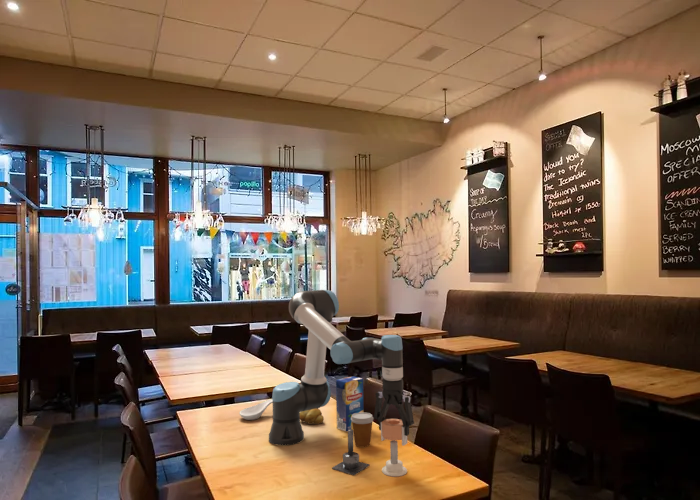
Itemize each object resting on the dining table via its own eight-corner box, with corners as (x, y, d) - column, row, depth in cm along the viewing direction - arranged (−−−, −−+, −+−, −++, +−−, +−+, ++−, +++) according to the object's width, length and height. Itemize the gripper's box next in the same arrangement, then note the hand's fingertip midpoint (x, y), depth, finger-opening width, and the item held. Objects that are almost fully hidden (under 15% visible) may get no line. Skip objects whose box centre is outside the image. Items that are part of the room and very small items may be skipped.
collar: (378, 437, 168) (378, 423, 168) (390, 431, 175) (389, 417, 175) (398, 441, 164) (397, 427, 164) (409, 435, 170) (408, 421, 170)
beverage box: (363, 426, 218) (363, 378, 219) (346, 431, 211) (345, 382, 212) (353, 422, 223) (353, 376, 224) (336, 428, 216) (335, 380, 217)
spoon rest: (245, 424, 224) (245, 409, 225) (235, 418, 233) (235, 403, 234) (288, 414, 239) (288, 400, 239) (277, 408, 248) (277, 395, 248)
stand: (332, 468, 171) (331, 431, 172) (347, 459, 180) (347, 424, 180) (354, 475, 166) (353, 436, 166) (369, 465, 174) (369, 428, 174)
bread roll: (328, 422, 224) (327, 405, 224) (313, 427, 217) (312, 410, 217) (310, 417, 233) (309, 400, 233) (295, 422, 226) (294, 405, 226)
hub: (377, 472, 168) (376, 442, 168) (390, 463, 175) (389, 435, 176) (399, 478, 163) (398, 448, 163) (411, 469, 170) (410, 440, 170)
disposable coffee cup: (372, 449, 189) (371, 419, 190) (349, 448, 191) (348, 418, 192) (375, 441, 199) (375, 412, 199) (353, 439, 201) (353, 411, 201)
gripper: (363, 377, 173) (364, 439, 172) (413, 383, 161) (415, 451, 160) (374, 373, 179) (375, 433, 178) (423, 379, 167) (424, 444, 166)
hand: (394, 441), depth 169 cm, fingers closed on collar, 8 cm apart
